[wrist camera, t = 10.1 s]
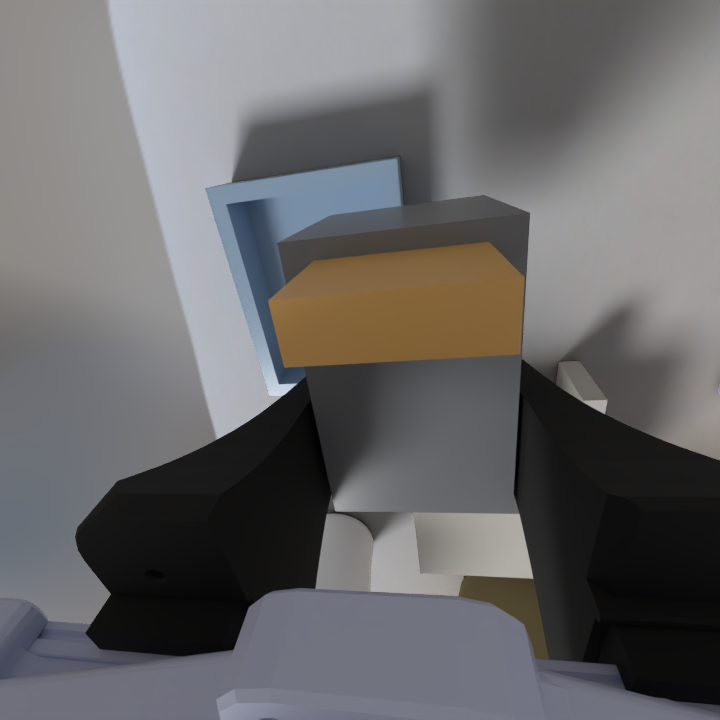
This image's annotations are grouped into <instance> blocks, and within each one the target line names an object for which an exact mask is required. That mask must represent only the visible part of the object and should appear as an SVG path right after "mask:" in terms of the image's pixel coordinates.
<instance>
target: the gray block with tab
mask: <svg viewBox="0 0 720 720" xmlns="http://www.w3.org/2000/svg"><path fill="white" fill-rule="evenodd" d="M529 220H530V213H529V212H526V211H524V210H521V209H519V208H516V207H513V206H511V205H508V204H506V203H503V202H500V201H498V200H495V199H493V198H490V197H487V196H485V195H482V196H474V197H466V198H459V199H451V200H443V201H435V202H428V203H420V204H412V205H404V206H397V207H389V208H381V209H373V210H366V211H358V212H350V213H342V214H335V215H330V216H328V217H326V218H324V219H322V220H320V221H318V222H316V223H314V224H312V225H311V226H309V227H307V228H305V229H303V230H301V231H299V232H297V233H295V234H293V235H291V236H289V237H287V238H285V239H284V240H282V241H280V242H278V243H277V245H278V250H279V255H280V259H281V264H282V268H283V273H284V278H285V282H286V285H285V286H284V287H283V288H282V289H281V290H280V291H278V292H277V293H276V294H275V295H274V296H273V297H272V298H270V299H269V300H268V303H269V307H270V311H271V315H272V320H273V324H274V328H275V332H276V336H277V340H278V344H279V348H280V352H281V357H282V361H283V365H284V368H289V367H304V370H305V374H306V379H307V383H308V388H309V393H310V397H311V402H312V406H313V411H314V416H315V420H316V425H317V429H318V434H319V439H320V443H321V448H322V452H323V457H324V462H325V466H326V471H327V475H328V480H329V485H330V489H331V494H332V498H333V503H334V508H335V511H348V512H418V513H488V514H513V496H514V479H515V462H516V445H517V427H518V410H519V393H520V375H521V358H522V341H523V323H524V306H525V289H526V272H527V254H528V237H529Z"/></svg>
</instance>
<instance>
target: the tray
mask: <svg viewBox="0 0 720 720" xmlns="http://www.w3.org/2000/svg"><path fill="white" fill-rule="evenodd" d="M205 189H206V192H207V196H208V199H209V202H210V205H211V208H212V212H213V215H214V218H215V221H216V224H217V228H218V231H219V234H220V237H221V241H222V244H223V247H224V250H225V253H226V257H227V260H228V263H229V266H230V269H231V273H232V276H233V279H234V282H235V286H236V289H237V292H238V295H239V298H240V302H241V305H242V308H243V311H244V315H245V318H246V321H247V324H248V327H249V331H250V334H251V337H252V340H253V343H254V347H255V350H256V353H257V356H258V360H259V363H260V366H261V369H262V372H263V376H264V379H265V382H266V385H267V388H268V392H269V395H270V396H278V395H285V394H286V393H287V392H288V391H289V390H291V389H292V388H293V387H294V386H295V385H296V384H297V383H299V382H300V381H301V380H302V379H303V378H304V377H305V376H306V374H305V370H304V367H289V368H284V365H283V361H282V357H281V352H280V348H279V344H278V340H277V336H276V332H275V328H274V324H273V320H272V315H271V311H270V307H269V303H268V300H269V299H270V298H272V297H273V296H274V295H275V294H276V293H277V292H278V291H280V290H281V289H282V288H283V287H284V286H285V285H286V282H285V278H284V273H283V268H282V264H281V259H280V255H279V250H278V245H277V243H278V242H280V241H282V240H284V239H285V238H287V237H289V236H291V235H293V234H295V233H297V232H299V231H301V230H303V229H305V228H307V227H309V226H311V225H312V224H314V223H316V222H318V221H320V220H322V219H324V218H326V217H328V216H330V215H335V214H342V213H350V212H358V211H366V210H373V209H381V208H389V207H397V206H404V200H403V187H402V175H401V163H400V156H397V157H391V158H384V159H378V160H372V161H365V162H359V163H353V164H346V165H340V166H333V167H327V168H321V169H314V170H308V171H302V172H295V173H289V174H283V175H276V176H270V177H263V178H257V179H251V180H244V181H238V182H232V183H227V184H223V185H218V186H214V187H209V188H205Z"/></svg>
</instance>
